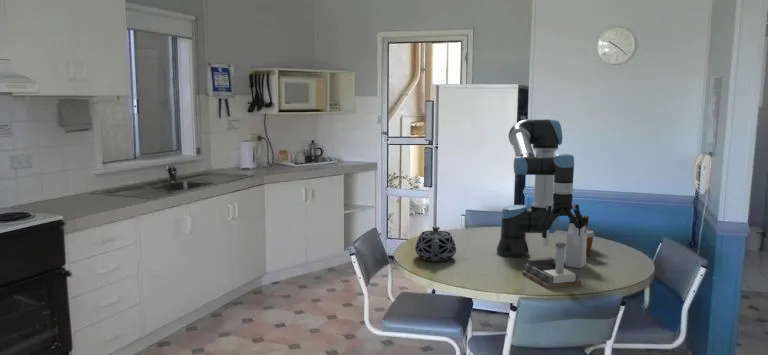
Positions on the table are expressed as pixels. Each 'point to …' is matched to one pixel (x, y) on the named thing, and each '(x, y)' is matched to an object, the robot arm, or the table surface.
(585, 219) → the coffee box
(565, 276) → the white pillar stand
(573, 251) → the milk carton
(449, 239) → the black lattice pot
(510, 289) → the table surface
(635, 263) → the table surface
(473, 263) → the table surface
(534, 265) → the base
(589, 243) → the disposable coffee cup
